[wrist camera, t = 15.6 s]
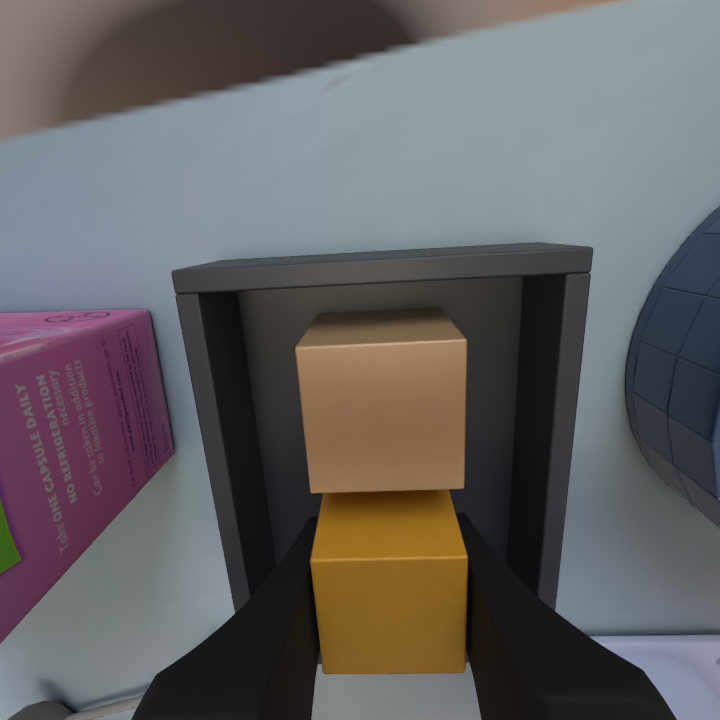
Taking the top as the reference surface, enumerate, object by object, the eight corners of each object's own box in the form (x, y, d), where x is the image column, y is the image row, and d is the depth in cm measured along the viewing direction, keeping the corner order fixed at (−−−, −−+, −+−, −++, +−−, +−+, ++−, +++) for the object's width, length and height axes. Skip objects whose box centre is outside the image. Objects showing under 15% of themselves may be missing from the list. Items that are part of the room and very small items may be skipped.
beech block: (441, 421, 15) (464, 490, 11) (326, 425, 15) (310, 494, 11) (441, 307, 13) (468, 338, 10) (317, 313, 14) (293, 347, 10)
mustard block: (443, 563, 15) (465, 674, 12) (335, 566, 16) (322, 676, 12) (443, 468, 14) (469, 557, 10) (326, 472, 14) (309, 560, 11)
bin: (516, 577, 17) (550, 663, 14) (269, 582, 18) (244, 665, 14) (539, 242, 13) (594, 246, 10) (219, 260, 14) (169, 270, 10)
